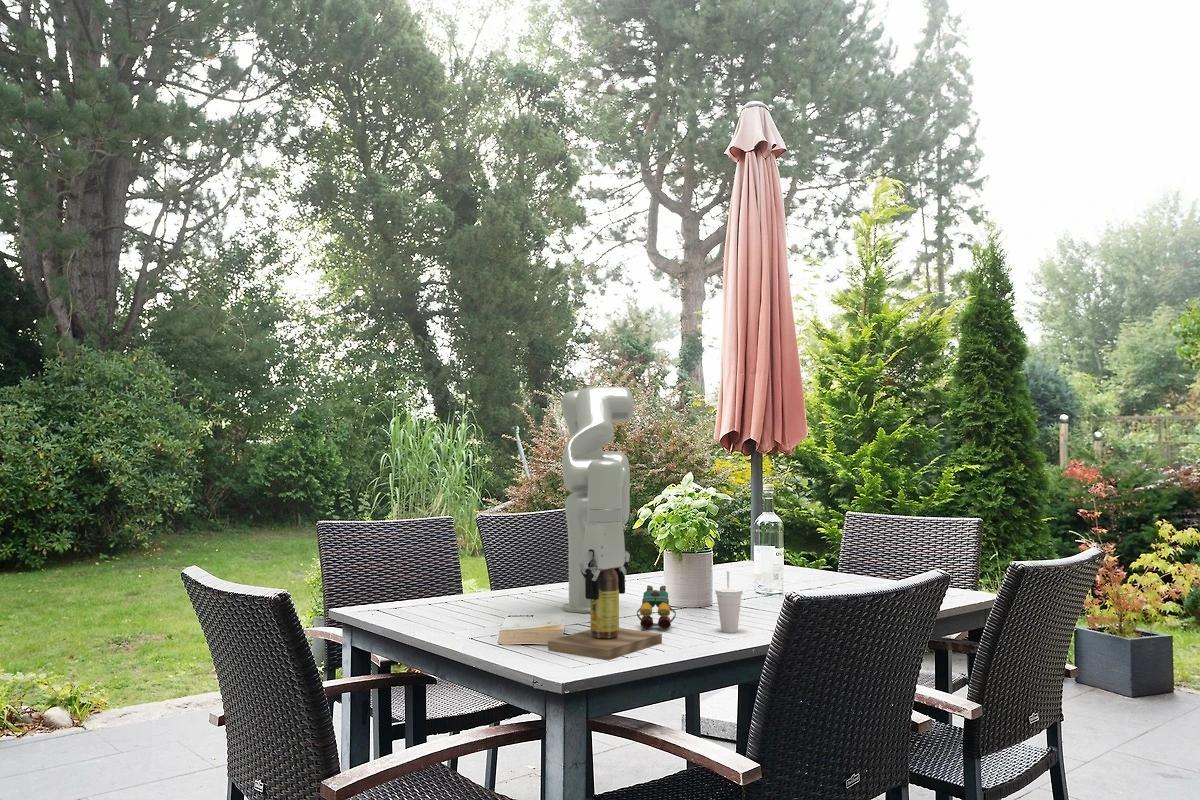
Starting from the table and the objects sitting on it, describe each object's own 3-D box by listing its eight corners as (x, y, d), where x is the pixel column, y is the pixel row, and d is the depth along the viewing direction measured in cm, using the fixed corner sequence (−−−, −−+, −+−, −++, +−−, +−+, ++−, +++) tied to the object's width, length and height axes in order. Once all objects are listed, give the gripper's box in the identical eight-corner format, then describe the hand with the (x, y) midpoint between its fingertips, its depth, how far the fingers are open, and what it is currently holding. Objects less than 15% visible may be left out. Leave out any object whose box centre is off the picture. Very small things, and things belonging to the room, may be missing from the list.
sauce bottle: (591, 634, 199) (590, 543, 200) (619, 634, 199) (618, 543, 200) (589, 640, 193) (589, 546, 194) (619, 640, 192) (618, 546, 194)
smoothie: (713, 633, 210) (712, 572, 210) (719, 627, 216) (718, 568, 216) (740, 634, 207) (739, 573, 208) (745, 629, 213) (744, 569, 214)
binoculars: (636, 637, 216) (634, 605, 211) (638, 610, 224) (636, 579, 219) (675, 637, 215) (674, 605, 210) (676, 610, 223) (675, 579, 218)
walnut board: (603, 634, 208) (603, 625, 209) (661, 642, 199) (661, 633, 199) (548, 650, 192) (548, 640, 193) (608, 659, 183) (608, 649, 183)
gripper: (614, 514, 207) (614, 589, 206) (566, 518, 193) (567, 599, 192) (641, 515, 202) (642, 592, 201) (595, 520, 188) (595, 603, 187)
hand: (605, 596), depth 196 cm, fingers open, 9 cm apart
